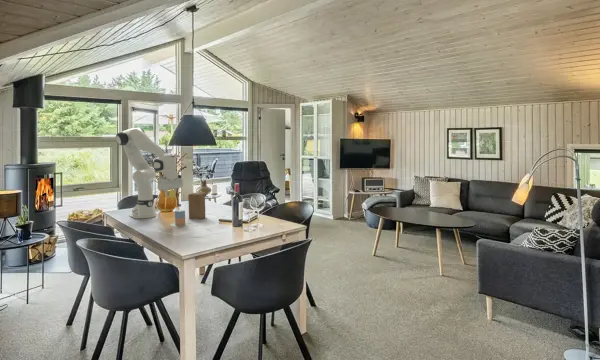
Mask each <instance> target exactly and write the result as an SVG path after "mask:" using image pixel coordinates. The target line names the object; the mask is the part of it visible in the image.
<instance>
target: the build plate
mask: <svg viewBox="0 0 600 360" xmlns="http://www.w3.org/2000/svg"><path fill="white" fill-rule="evenodd" d="M190 225H192V223H190V222H185V224H184V225H175V223H171V224H169V226H170V227H171V226H172V227H177V228H182V227H184V226H185V227H186V226H190Z"/></svg>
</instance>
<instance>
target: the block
mask: <svg viewBox="0 0 600 360" xmlns="http://www.w3.org/2000/svg"><path fill="white" fill-rule="evenodd" d="M187 196H188V197H187V199H188V200H187V202H188V219H190V220H191V219H192V220H194V219H196V220H202V219H204V218H206V194H205V192H192V193H189V194H188V195H187Z"/></svg>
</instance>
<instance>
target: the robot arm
mask: <svg viewBox="0 0 600 360" xmlns="http://www.w3.org/2000/svg"><path fill="white" fill-rule="evenodd" d="M115 141H116V143H117V145H120V146H123V150H124V152H125V154H126V158H127V160H128V162H129V164H130V165H131V167H133V168H134V169H135V170H136V171H134V172H132V173H133V174H132V180H133V181H134V183H135V185H136V189H137V200H136V205H135V206H134V207H132V210H131V211H132V212H131V214H129V215H128V216H129V217H130V218H134V219H150V218H155V217H156V216H157V212H156V206H155V204H154V203H155V200H154V194H153V193H154V192H153V191H154V190H153V187H151V183H150V182H153V180H155V178H156V177H157V174H156V172H163V176H160V177H159V178H158V179H157V189H158V190H159V191H163V192H164V193H165V194H164V195H165V196H166V195H169V194H168V193H167V190H176V192H177V191H178V189H182V188H183V186H184V183H183V182H184V181H183V175H182V174H178V173H177V169H176V168H177V158H176V156H175V155H174V154H171V153H166V151H164V149H163V148H162V147H160V146H159V145H158V144H157V143H155V141H153V140H152V139H150V137H149V135H147V134H146V132H145V130H144V129H143V128H142V127H134V128H129V129H126V130H123V131H119V132H117V133H116V134H115ZM142 152H146V153H150V154H153V155H155V156H156V157H158V158H155V159H154V160H153V162H152V166H150V165H149V164H148V162H147V159H145V156H144V155H143V153H142ZM152 167H153V168H152Z"/></svg>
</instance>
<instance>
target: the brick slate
mask: <svg viewBox="0 0 600 360" xmlns="http://www.w3.org/2000/svg"><path fill="white" fill-rule="evenodd" d="M175 218H179V219H180V218H185V219H186V211H185V210H182V209H178V210H174V219H175Z"/></svg>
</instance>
